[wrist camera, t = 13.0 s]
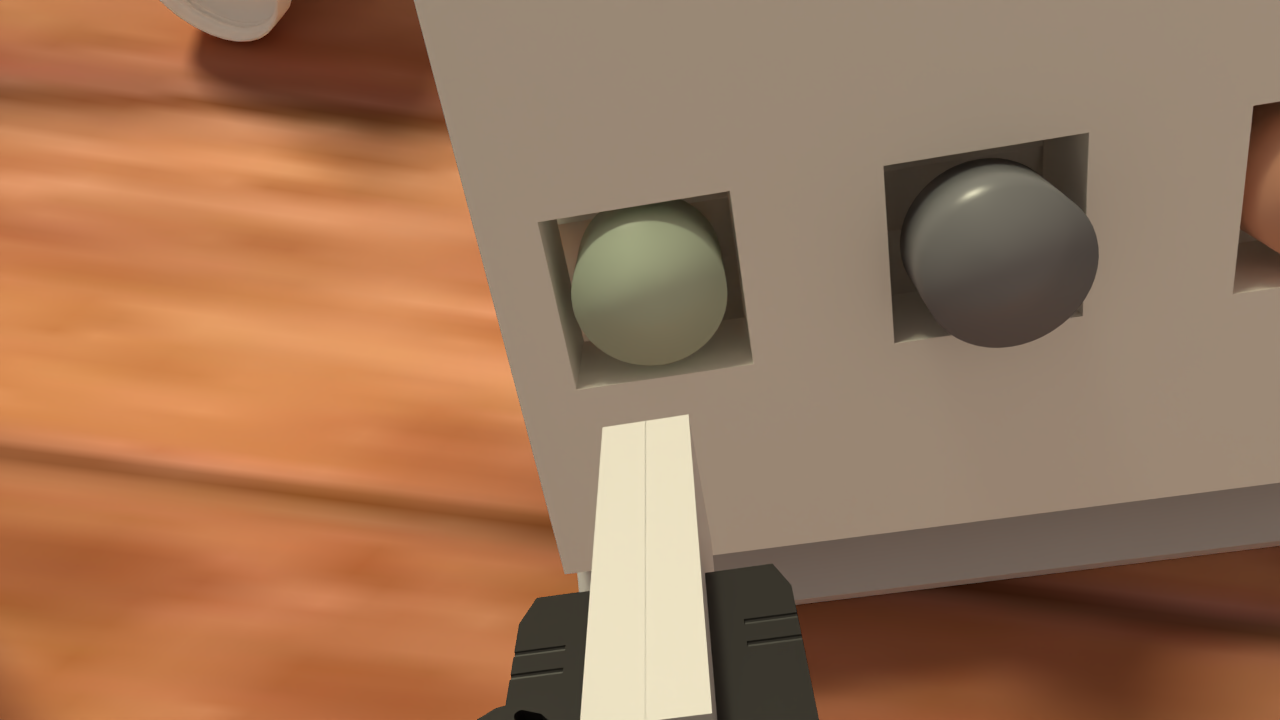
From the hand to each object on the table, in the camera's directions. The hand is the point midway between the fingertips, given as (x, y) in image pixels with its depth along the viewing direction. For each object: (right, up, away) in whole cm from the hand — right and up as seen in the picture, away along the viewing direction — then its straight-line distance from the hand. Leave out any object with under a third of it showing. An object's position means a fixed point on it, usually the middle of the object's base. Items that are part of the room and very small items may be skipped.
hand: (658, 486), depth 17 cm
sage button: (0, +4, +11) cm, 12 cm away
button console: (+9, +4, +18) cm, 20 cm away
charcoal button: (+9, +4, +9) cm, 13 cm away
